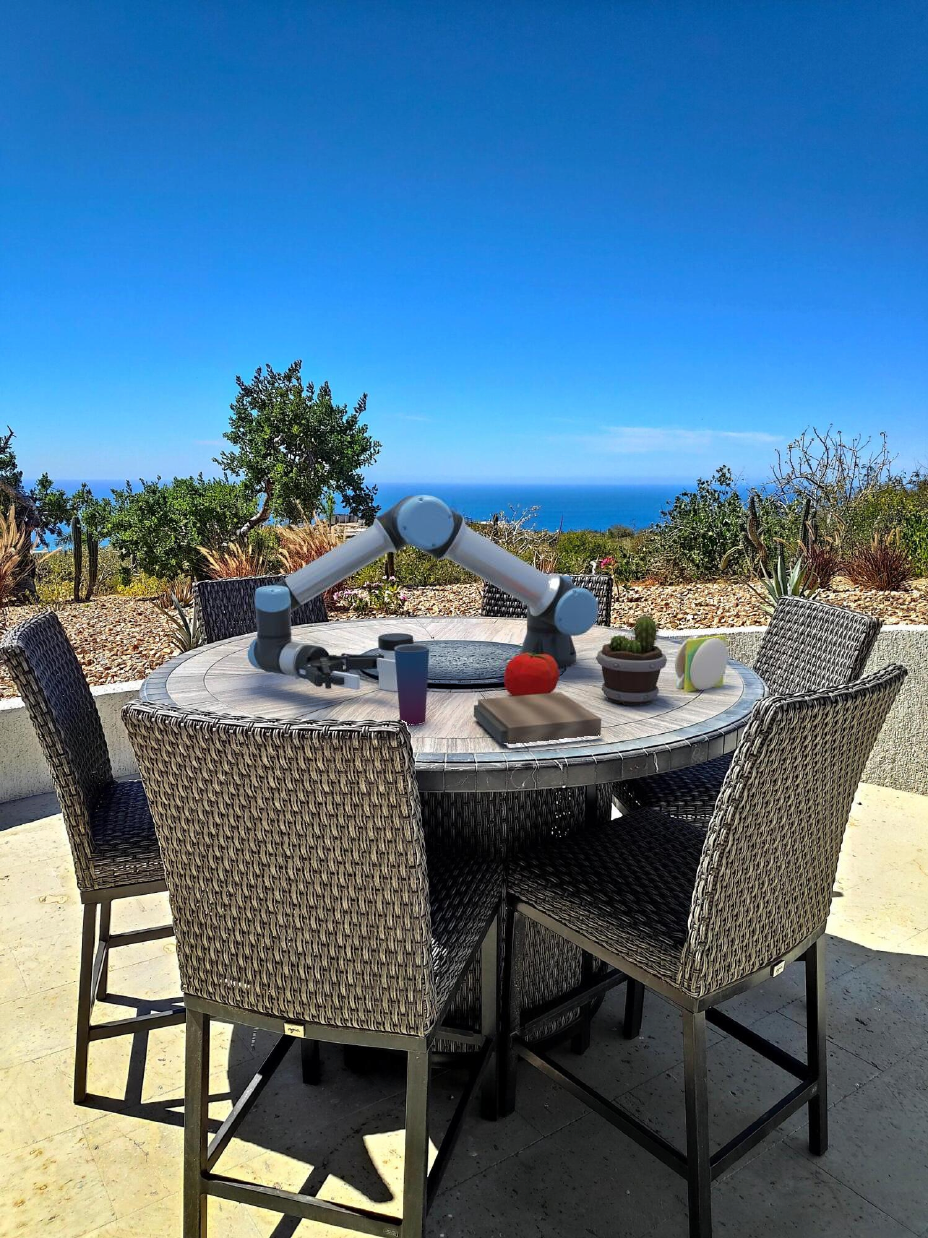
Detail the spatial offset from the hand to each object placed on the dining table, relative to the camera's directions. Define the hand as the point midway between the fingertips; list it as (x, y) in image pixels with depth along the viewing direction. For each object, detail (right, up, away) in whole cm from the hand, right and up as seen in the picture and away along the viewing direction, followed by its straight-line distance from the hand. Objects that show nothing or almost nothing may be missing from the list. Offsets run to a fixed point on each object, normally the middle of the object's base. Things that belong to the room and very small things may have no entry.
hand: (381, 675), depth 144 cm
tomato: (+32, -6, +14) cm, 35 cm away
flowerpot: (+53, -7, +13) cm, 55 cm away
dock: (+31, -10, -7) cm, 33 cm away
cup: (+7, -9, -2) cm, 11 cm away
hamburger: (+72, -5, +23) cm, 76 cm away
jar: (+1, -5, +23) cm, 23 cm away
